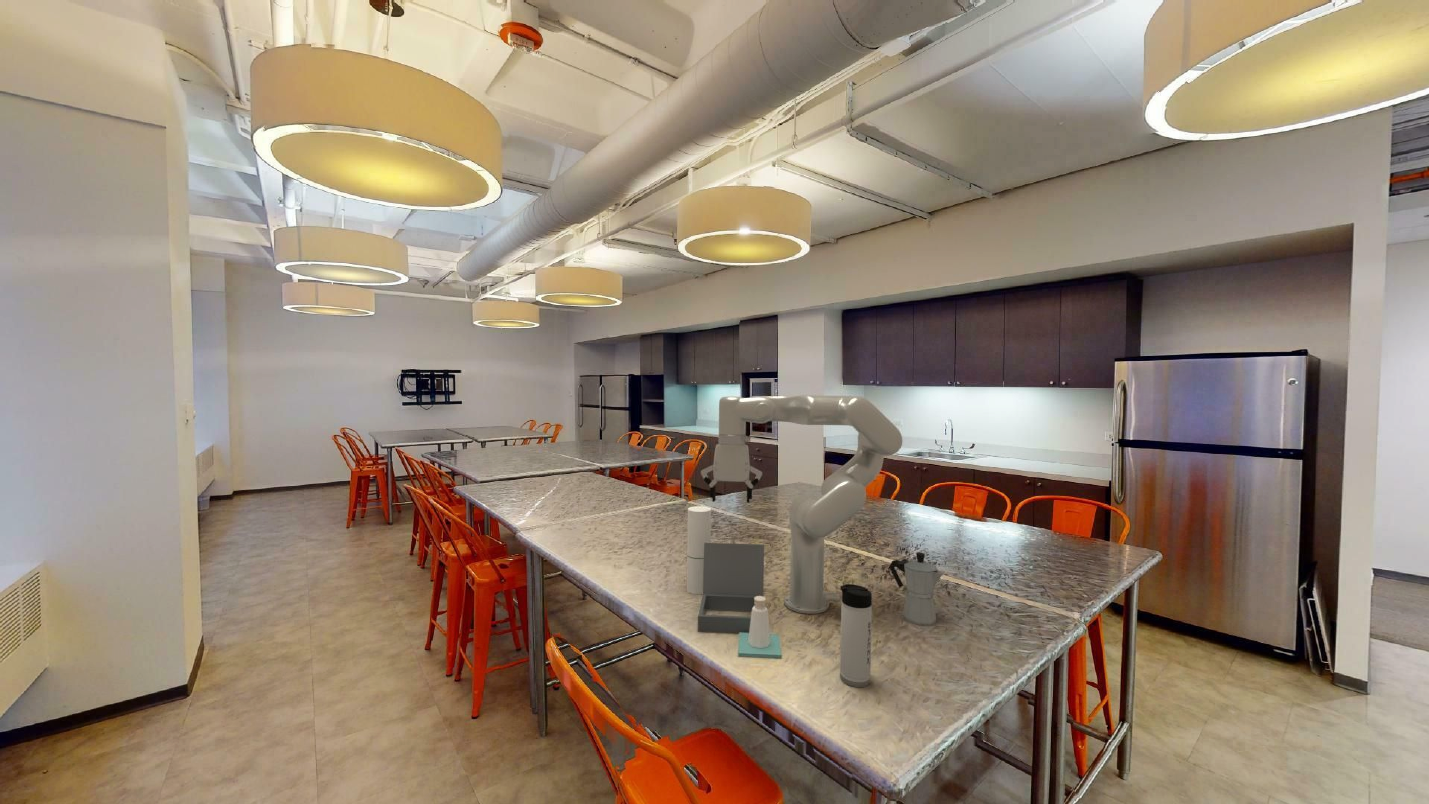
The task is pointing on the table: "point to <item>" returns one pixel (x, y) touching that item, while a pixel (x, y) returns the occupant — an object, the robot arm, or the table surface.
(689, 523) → the cylindrical container
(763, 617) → the salt shaker
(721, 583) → the lid
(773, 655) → the pad
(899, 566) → the coffee maker
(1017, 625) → the table surface
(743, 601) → the case
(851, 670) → the travel mug
